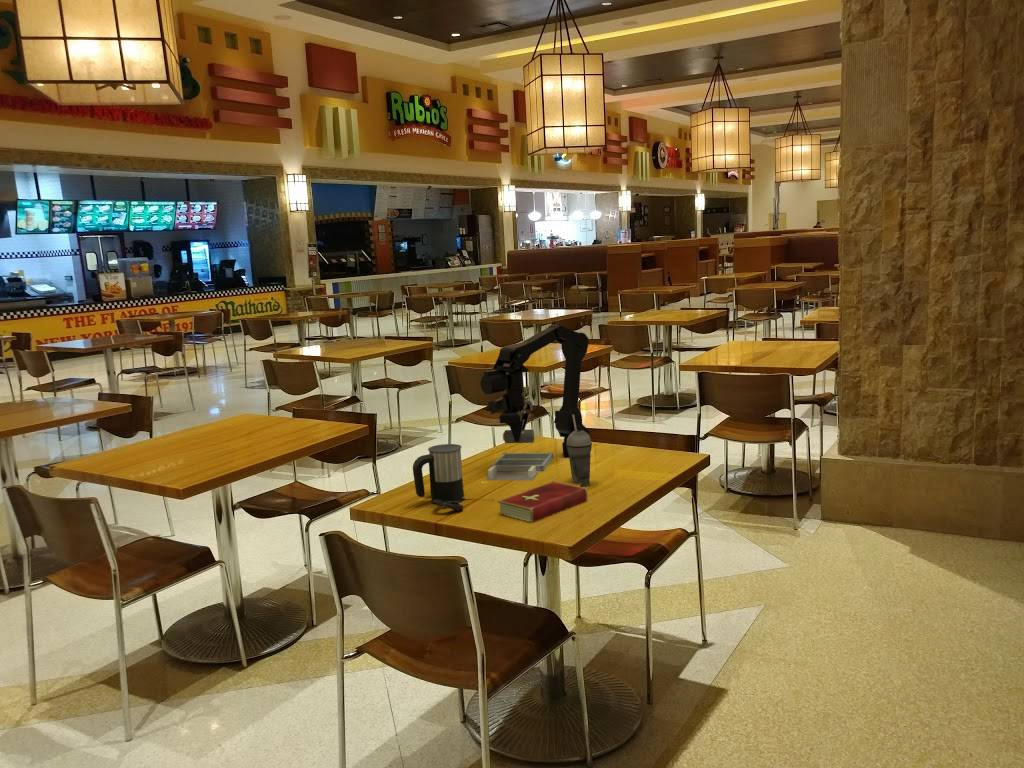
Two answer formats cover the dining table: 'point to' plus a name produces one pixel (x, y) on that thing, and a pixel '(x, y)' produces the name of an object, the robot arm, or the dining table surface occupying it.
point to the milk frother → (442, 475)
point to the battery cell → (525, 436)
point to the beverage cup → (579, 455)
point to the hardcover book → (542, 501)
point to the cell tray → (522, 461)
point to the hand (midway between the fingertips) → (518, 439)
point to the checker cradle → (511, 474)
